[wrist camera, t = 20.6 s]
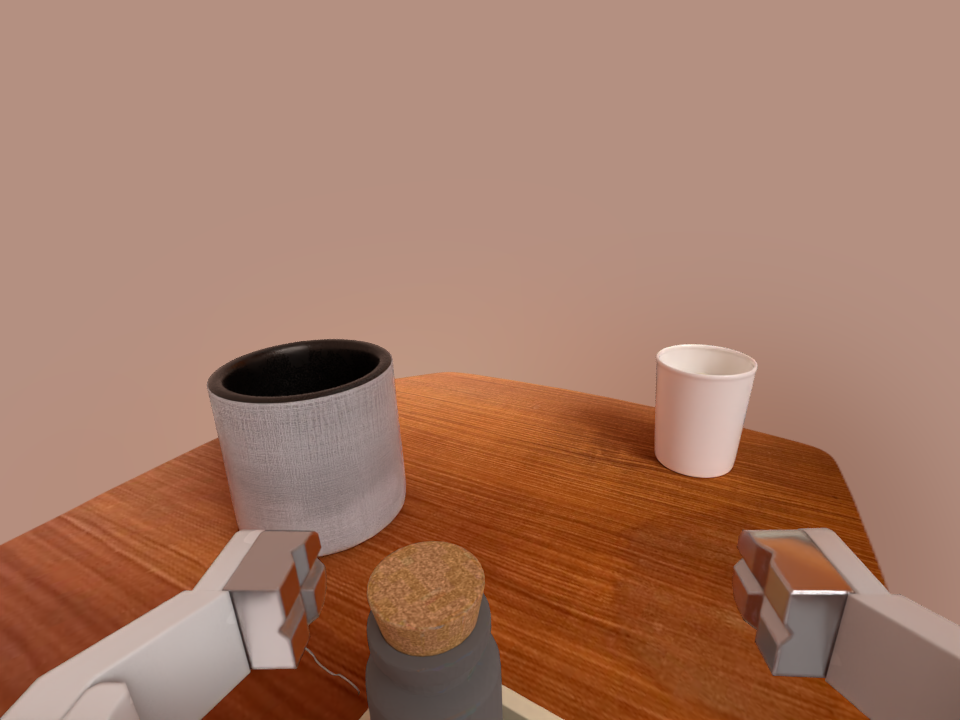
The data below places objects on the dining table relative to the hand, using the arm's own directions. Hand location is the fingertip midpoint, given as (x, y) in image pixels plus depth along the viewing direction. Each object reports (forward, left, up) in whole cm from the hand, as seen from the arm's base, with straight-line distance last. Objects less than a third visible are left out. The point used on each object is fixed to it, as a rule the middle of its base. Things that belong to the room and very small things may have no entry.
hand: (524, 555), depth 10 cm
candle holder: (+4, -48, -24) cm, 54 cm away
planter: (+33, -20, -24) cm, 46 cm away
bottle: (+7, -5, -23) cm, 25 cm away
